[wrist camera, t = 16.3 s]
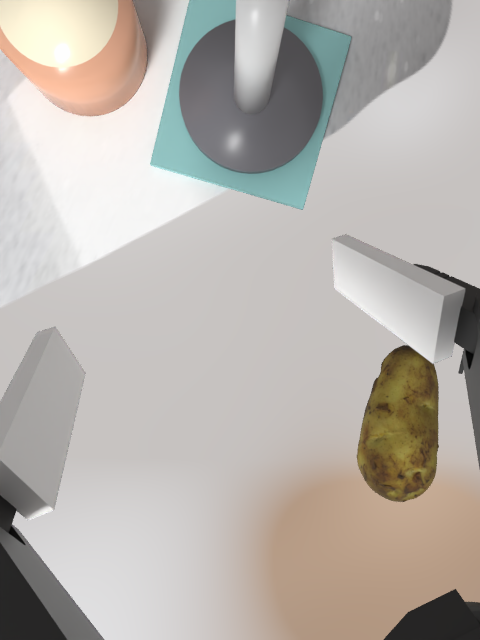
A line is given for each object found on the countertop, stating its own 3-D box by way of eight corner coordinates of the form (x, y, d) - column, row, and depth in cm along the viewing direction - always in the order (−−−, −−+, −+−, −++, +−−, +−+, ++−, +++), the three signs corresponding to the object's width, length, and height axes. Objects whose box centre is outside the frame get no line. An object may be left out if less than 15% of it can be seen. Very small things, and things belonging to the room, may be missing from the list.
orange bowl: (13, 95, 29) (-33, 54, 24) (38, -31, 28) (-3, -101, 23) (131, 131, 29) (111, 98, 24) (160, 8, 28) (145, -52, 23)
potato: (451, 379, 33) (522, 407, 25) (374, 475, 33) (420, 533, 25) (390, 332, 32) (443, 346, 24) (313, 431, 33) (340, 477, 25)
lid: (164, 150, 29) (127, 67, 18) (201, 5, 28) (183, -171, 17) (297, 190, 30) (336, 134, 19) (337, 51, 29) (401, -92, 18)
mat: (151, 165, 30) (150, 163, 29) (193, -12, 28) (193, -16, 28) (302, 209, 31) (303, 208, 30) (350, 40, 29) (351, 36, 29)
